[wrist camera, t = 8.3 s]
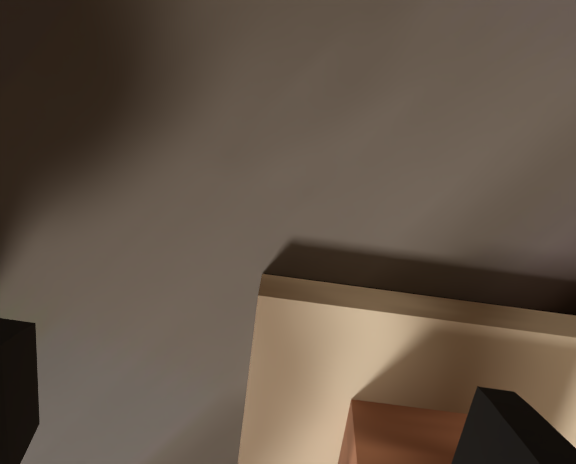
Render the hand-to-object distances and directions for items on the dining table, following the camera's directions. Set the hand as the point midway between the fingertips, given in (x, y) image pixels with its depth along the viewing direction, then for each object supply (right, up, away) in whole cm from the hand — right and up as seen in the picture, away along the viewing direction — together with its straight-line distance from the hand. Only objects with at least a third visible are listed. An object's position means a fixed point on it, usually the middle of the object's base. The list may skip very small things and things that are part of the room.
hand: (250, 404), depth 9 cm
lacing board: (+5, -5, +12) cm, 14 cm away
